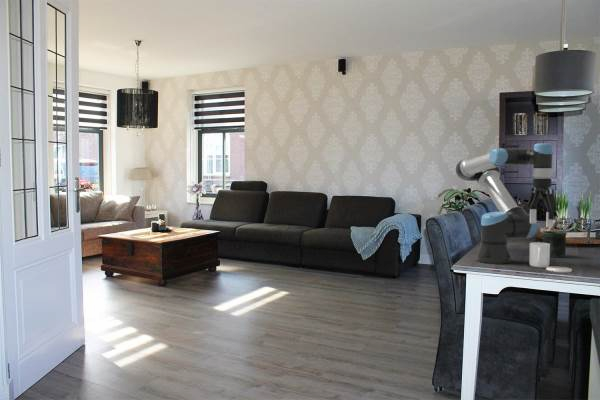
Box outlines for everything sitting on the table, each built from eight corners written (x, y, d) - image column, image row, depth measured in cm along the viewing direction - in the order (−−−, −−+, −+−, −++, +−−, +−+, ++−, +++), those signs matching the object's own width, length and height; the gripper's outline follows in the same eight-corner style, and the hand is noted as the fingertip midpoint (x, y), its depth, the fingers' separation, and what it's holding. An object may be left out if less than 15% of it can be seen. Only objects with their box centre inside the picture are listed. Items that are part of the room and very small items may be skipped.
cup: (549, 264, 234) (549, 242, 233) (549, 269, 223) (550, 246, 222) (529, 263, 237) (529, 241, 237) (528, 268, 226) (529, 245, 226)
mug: (564, 258, 249) (565, 234, 249) (532, 255, 258) (532, 232, 257) (567, 255, 258) (568, 232, 257) (536, 252, 267) (537, 230, 266)
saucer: (553, 272, 216) (554, 270, 216) (541, 268, 226) (541, 266, 226) (576, 272, 217) (576, 270, 217) (563, 267, 227) (563, 265, 227)
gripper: (567, 178, 216) (565, 228, 217) (535, 177, 241) (533, 221, 242) (550, 178, 215) (548, 228, 217) (520, 177, 240) (518, 222, 242)
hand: (540, 225), depth 230 cm, fingers open, 13 cm apart
